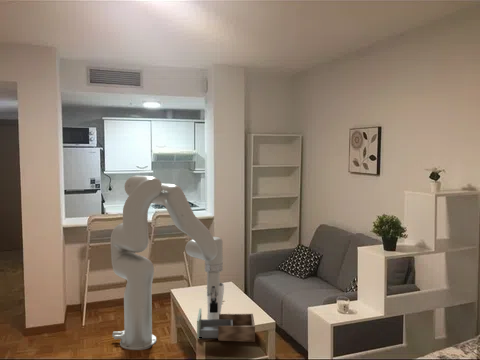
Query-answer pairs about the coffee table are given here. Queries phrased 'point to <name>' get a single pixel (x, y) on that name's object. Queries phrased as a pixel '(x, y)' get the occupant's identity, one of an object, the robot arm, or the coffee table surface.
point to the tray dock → (237, 328)
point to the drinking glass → (219, 301)
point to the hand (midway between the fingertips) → (214, 308)
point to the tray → (210, 326)
